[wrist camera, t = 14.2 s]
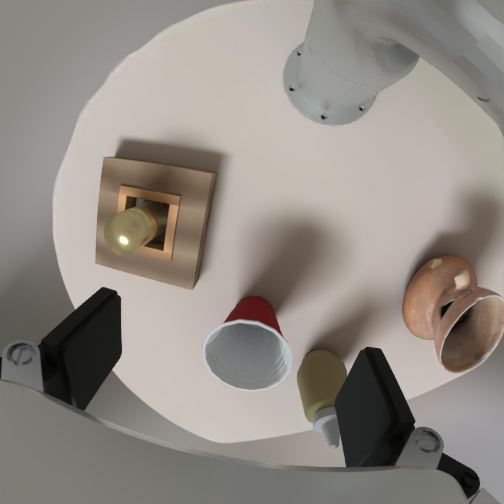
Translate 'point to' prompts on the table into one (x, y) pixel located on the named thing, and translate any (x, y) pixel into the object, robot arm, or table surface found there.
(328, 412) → the squeeze bottle
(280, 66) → the table surface
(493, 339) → the ceramic jug
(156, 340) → the table surface
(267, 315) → the plastic cup
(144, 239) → the brass peg
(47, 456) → the robot arm
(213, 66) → the table surface
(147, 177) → the walnut plate
